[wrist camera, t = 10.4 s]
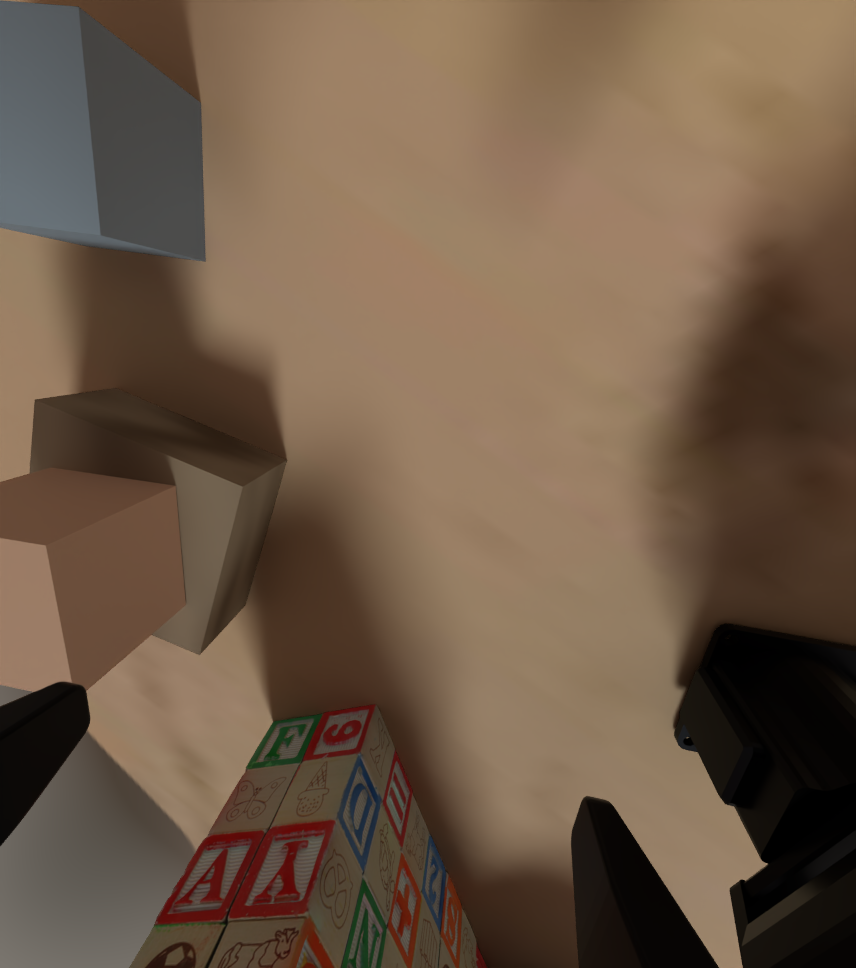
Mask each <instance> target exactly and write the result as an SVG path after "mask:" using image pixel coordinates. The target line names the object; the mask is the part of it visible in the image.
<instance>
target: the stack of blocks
mask: <svg viewBox="0 0 856 968" xmlns="http://www.w3.org/2000/svg"><path fill="white" fill-rule="evenodd" d="M129 968H487V966H486V964H485V962H484V960H483V957H482V955H481V953H480V951H479V948H478V946H477V943H476V938H475V936H474V933H473V931H472V928H471V926H470V924H469V921H468V919H467V917H466V914H465V912H464V910H463V909H462V906H461V903H460V900H459V898H458V895H457V893H456V890H455V888H454V886H453V883H452V881H451V879H450V876H449V874H448V872H446V871H445V867H444V865H443V862H442V860H441V858H440V856H439V853H438V851H437V849H436V846H435V844H434V842H433V839H432V837H431V835H430V834H429V832H428V828H427V826H426V824H425V821H424V819H423V817H422V815H421V812H420V810H419V808H418V805H417V803H416V800H415V798H414V796H413V791H412V788H411V786H410V783H409V781H408V779H407V776H406V774H405V772H404V769H403V767H402V764H401V762H400V760H399V757H398V755H397V753H396V750H395V748H394V744H393V742H392V740H391V737H390V735H389V732H388V730H387V728H386V725H385V723H384V720H383V718H382V716H381V713H380V711H379V709H378V707H377V705H375V704H374V705H368V706H362V707H355V708H349V709H343V710H338V711H332V712H325V713H323V714H318V715H312V716H306V717H299V718H293V719H287V720H281V721H274V722H273V723H272V725H271V727H270V728H269V730H268V732H267V733H266V735H265V736H264V738H263V740H262V741H261V743H260V745H259V746H258V748H257V749H256V751H255V753H254V755H253V756H252V758H251V760H250V762H249V763H248V765H247V767H246V772H245V774H244V775H243V776H242V777H241V779H240V781H239V782H238V784H237V786H236V787H235V789H234V791H233V792H232V794H231V796H230V797H229V799H228V801H227V802H226V804H225V806H224V807H223V809H222V811H221V812H220V814H219V816H218V818H217V819H216V821H215V823H214V825H213V826H212V828H211V830H210V832H209V834H208V836H207V837H206V838H205V839H204V840H203V841H202V843H201V844H200V846H199V847H198V849H197V851H196V853H195V854H194V856H193V858H192V859H191V861H190V862H189V864H188V866H187V868H186V870H185V872H184V874H183V875H182V877H181V878H180V880H179V882H178V883H177V885H176V886H175V887H174V889H173V892H172V895H171V896H170V897H169V898H168V900H167V901H166V903H165V905H164V907H163V908H162V910H161V912H160V913H159V915H158V917H157V919H156V922H155V924H154V927H153V929H152V930H151V933H150V934H149V936H148V937H147V939H146V941H145V943H144V944H143V946H142V947H141V949H140V951H139V952H138V954H137V956H136V957H135V959H134V961H133V962H132V964H131V966H130V967H129Z"/></svg>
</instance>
